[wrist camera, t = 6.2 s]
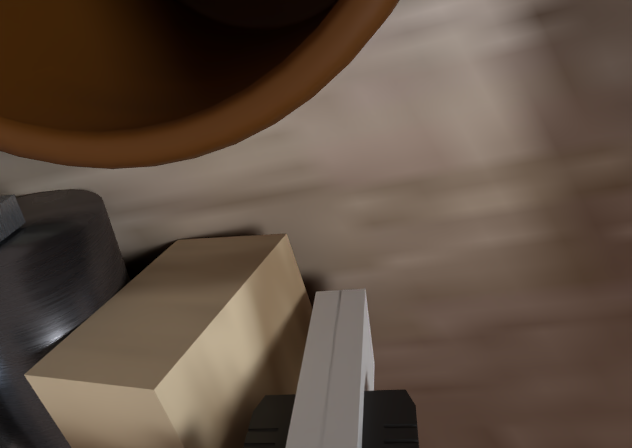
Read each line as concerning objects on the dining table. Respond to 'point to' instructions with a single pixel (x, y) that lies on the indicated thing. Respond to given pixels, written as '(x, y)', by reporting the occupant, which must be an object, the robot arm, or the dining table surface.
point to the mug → (165, 73)
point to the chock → (182, 349)
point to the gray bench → (48, 295)
